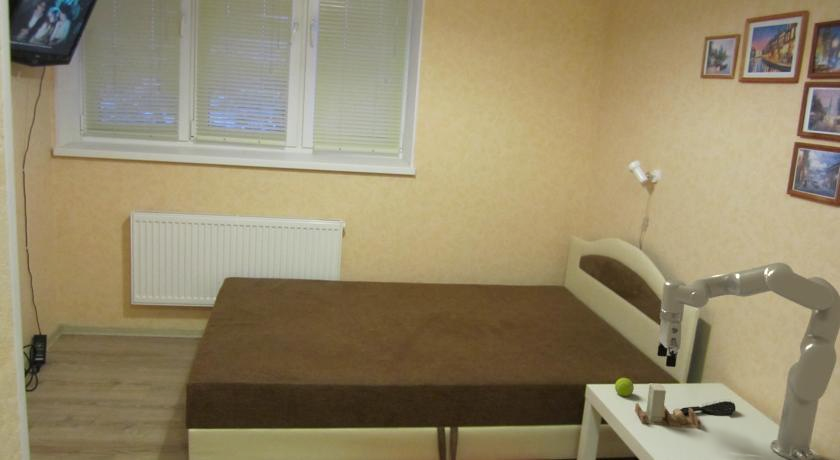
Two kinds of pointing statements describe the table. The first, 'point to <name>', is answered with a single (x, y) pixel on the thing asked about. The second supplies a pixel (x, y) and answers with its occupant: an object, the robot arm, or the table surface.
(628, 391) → the tennis ball
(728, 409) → the hairbrush
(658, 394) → the skincare box
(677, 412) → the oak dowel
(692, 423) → the rack
